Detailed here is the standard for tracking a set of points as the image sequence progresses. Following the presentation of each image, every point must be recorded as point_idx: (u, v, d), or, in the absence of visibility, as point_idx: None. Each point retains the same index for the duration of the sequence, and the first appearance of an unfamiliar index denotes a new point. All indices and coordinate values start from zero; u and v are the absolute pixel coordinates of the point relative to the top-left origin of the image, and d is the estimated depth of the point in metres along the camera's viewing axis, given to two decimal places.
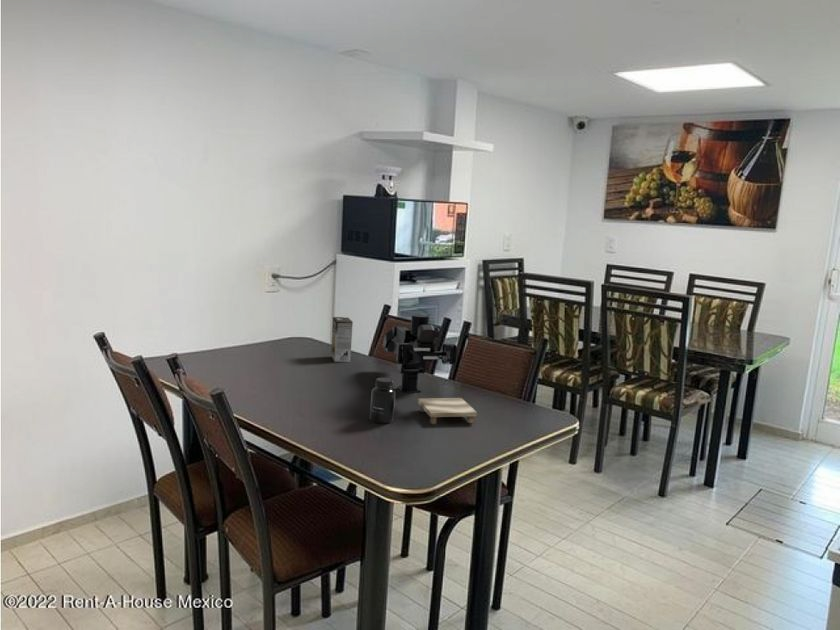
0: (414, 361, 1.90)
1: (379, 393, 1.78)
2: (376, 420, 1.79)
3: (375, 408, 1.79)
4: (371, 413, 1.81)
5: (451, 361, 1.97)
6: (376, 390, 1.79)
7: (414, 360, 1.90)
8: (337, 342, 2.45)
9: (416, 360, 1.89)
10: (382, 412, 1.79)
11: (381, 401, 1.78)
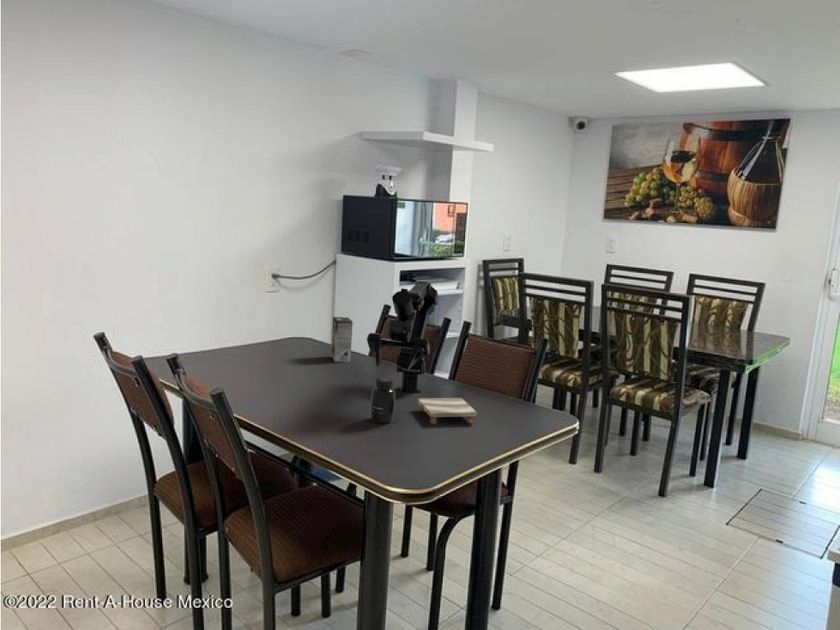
0: None
1: (379, 393, 1.78)
2: (376, 420, 1.79)
3: (375, 408, 1.79)
4: (371, 413, 1.81)
5: (422, 356, 1.92)
6: (376, 390, 1.79)
7: None
8: (337, 342, 2.45)
9: None
10: (382, 412, 1.79)
11: (381, 401, 1.78)
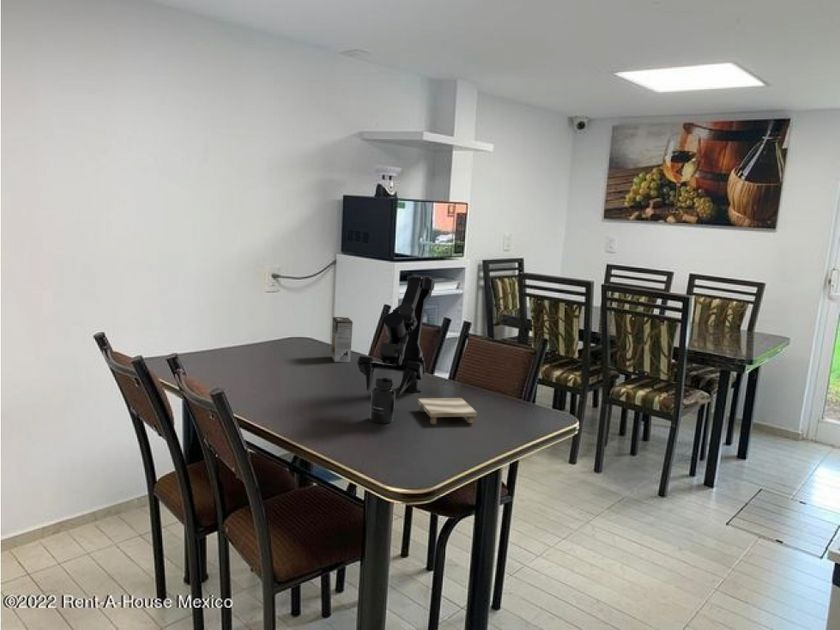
0: None
1: (379, 393, 1.78)
2: (376, 420, 1.79)
3: (375, 408, 1.79)
4: (371, 413, 1.81)
5: (414, 380, 1.85)
6: (376, 390, 1.79)
7: None
8: (337, 342, 2.45)
9: None
10: (382, 412, 1.79)
11: (381, 401, 1.78)
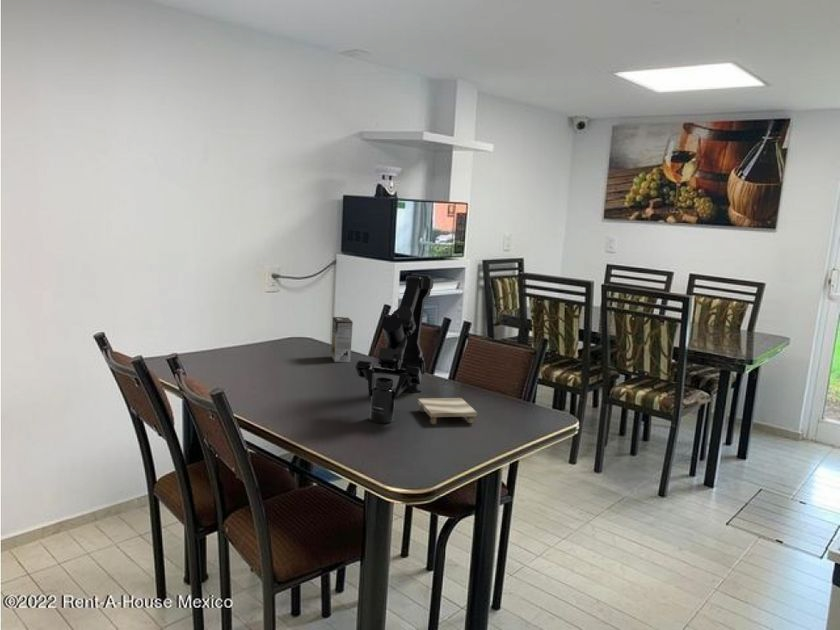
0: None
1: (379, 393, 1.78)
2: (376, 420, 1.79)
3: (375, 408, 1.79)
4: (371, 413, 1.81)
5: (409, 384, 1.84)
6: (376, 390, 1.79)
7: None
8: (337, 342, 2.45)
9: None
10: (382, 412, 1.79)
11: (381, 401, 1.78)
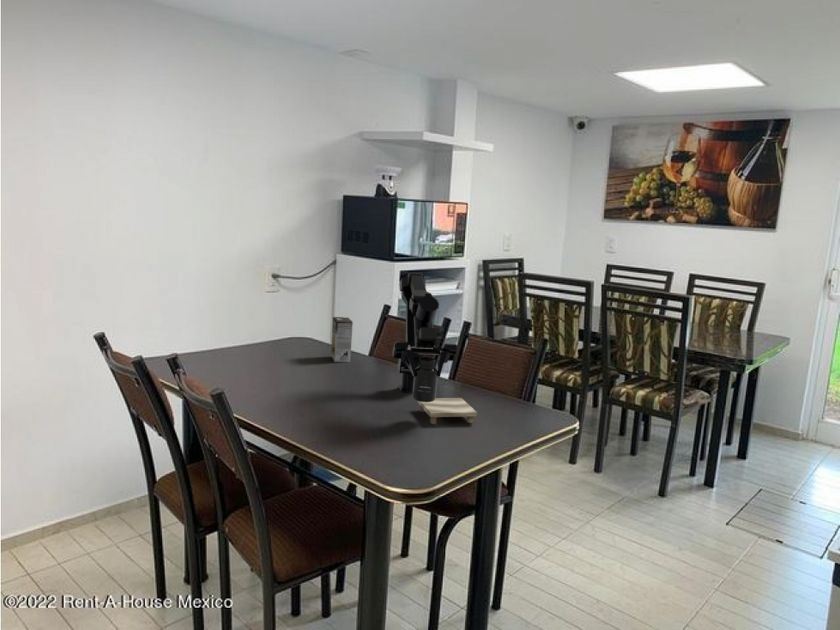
0: (410, 370, 1.84)
1: (427, 373, 1.80)
2: (423, 399, 1.81)
3: (422, 388, 1.81)
4: (416, 393, 1.82)
5: (446, 361, 1.89)
6: (422, 370, 1.81)
7: (410, 369, 1.84)
8: (337, 342, 2.45)
9: (412, 372, 1.83)
10: (430, 390, 1.81)
11: (429, 380, 1.81)
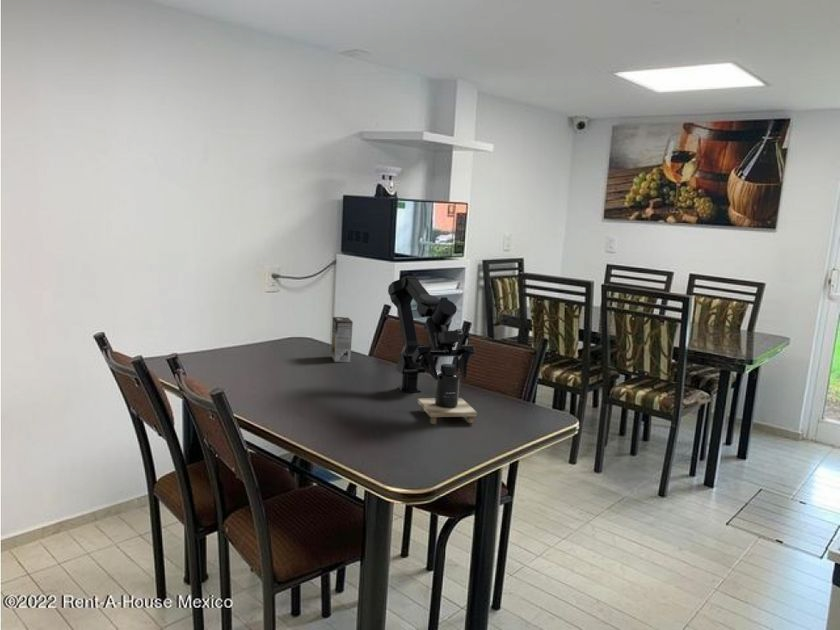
0: (431, 373, 1.87)
1: (452, 379, 1.85)
2: (449, 405, 1.86)
3: (448, 394, 1.86)
4: (442, 399, 1.86)
5: None
6: (447, 376, 1.86)
7: (431, 373, 1.86)
8: (337, 342, 2.45)
9: (433, 376, 1.86)
10: (455, 395, 1.86)
11: (454, 386, 1.86)
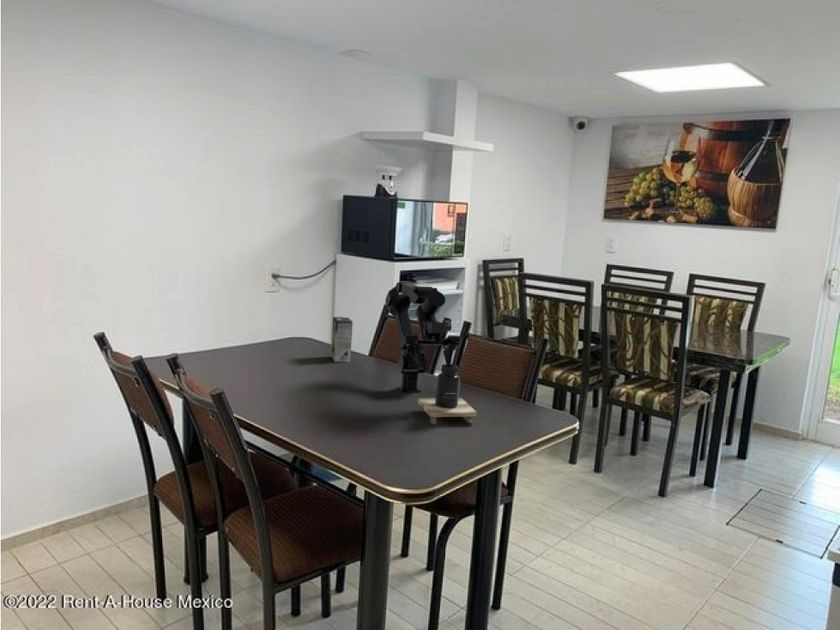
0: (416, 361, 1.93)
1: (452, 379, 1.85)
2: (449, 405, 1.86)
3: (449, 394, 1.86)
4: (442, 399, 1.86)
5: None
6: (447, 377, 1.85)
7: (416, 361, 1.93)
8: (337, 342, 2.45)
9: (418, 364, 1.92)
10: (455, 396, 1.86)
11: (454, 386, 1.86)
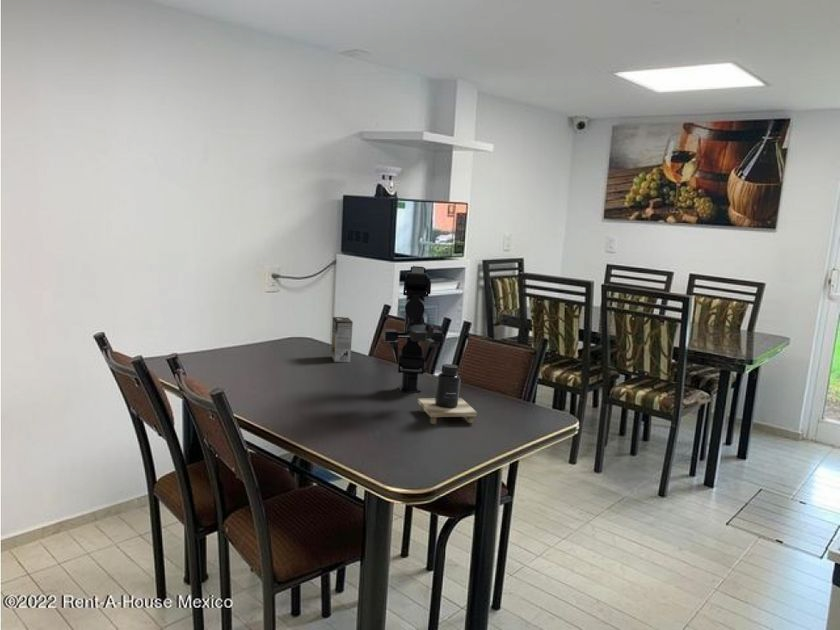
0: None
1: (453, 379, 1.85)
2: (449, 405, 1.86)
3: (449, 394, 1.86)
4: (442, 399, 1.86)
5: None
6: (448, 377, 1.85)
7: (394, 354, 1.98)
8: (337, 342, 2.45)
9: None
10: (455, 396, 1.87)
11: (454, 386, 1.86)
